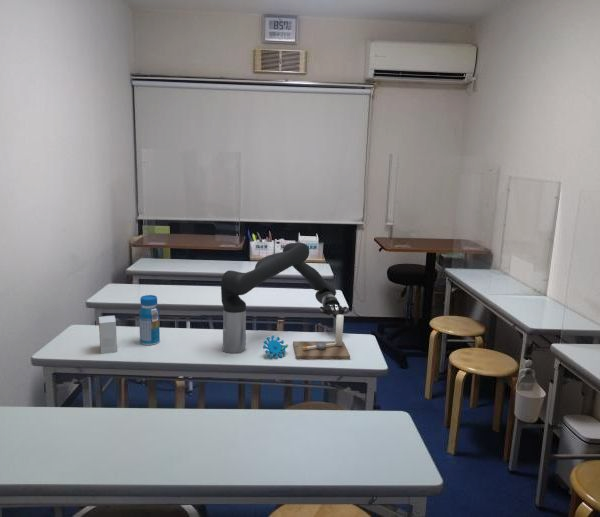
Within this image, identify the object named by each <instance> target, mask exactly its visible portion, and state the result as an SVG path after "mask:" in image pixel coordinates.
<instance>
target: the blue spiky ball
mask: <svg viewBox="0 0 600 517" xmlns="http://www.w3.org/2000/svg"><path fill="white" fill-rule="evenodd" d="M275 337H276V336H275V335H271V336H266V338H265V340H264V341H263V346H262V348H263V349H264V353H265V355H268V354H269V352H270V354H269V355H268V357H269V358H274V359H275V358H277V359H278V358H283V357H284V355H285V353H286V352H287V351H286V349H287V348H288V347H289V344H285V345H284V343H285V340H282V339H281V337H280V336H277V337H276V339H275ZM279 340H281V341H279ZM265 349H266V350H265ZM274 355H275V356H274ZM273 356H274V357H273Z"/></svg>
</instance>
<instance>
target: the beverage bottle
mask: <svg viewBox="0 0 600 517" xmlns="http://www.w3.org/2000/svg"><path fill="white" fill-rule="evenodd" d="M139 302H140V306H141V307H140V309H139V311H138V314H139V317H138V323H139V343H140V344H142V345H144V346H153V345H156V344H158V343H160V341H161V338H160V337H161V336H160V331H161V330H160V320H161V319H160V318H161V317H160V315H159V314H160V310H159V308H158V306H157V305H158V296H156V295H154V294H145V295H142V296H141V297H140V301H139Z"/></svg>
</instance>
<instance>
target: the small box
mask: <svg viewBox="0 0 600 517" xmlns="http://www.w3.org/2000/svg"><path fill="white" fill-rule="evenodd" d="M116 320H117V319H116V316H115V315H104V316H103V315H102V316H98V329H99V331H98V332H99V347H100V354H111V353H117V352H118V340H117V339H118V338H117V337H118V336H117V321H116Z"/></svg>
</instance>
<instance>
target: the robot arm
mask: <svg viewBox="0 0 600 517" xmlns="http://www.w3.org/2000/svg"><path fill="white" fill-rule="evenodd" d="M309 256H310V249H309V246H308V245H307V244H306V243H304V242H289V243H287V244H285V245H284V246H283V248H282V251H281V252H277V253H272V254H269V255H267V256H265V257H263V258H261V259H259V260H258V261H257V262H256V263H255V266H254V269H252V270H250V271H247V272H240V271H238V270H237V271H235V270H232V269H231V270H226V271H225V272H224V273H223V274H222V276H221V277H222V278H221V281H220V291H221V293H220V296H221V297H220V298H221V303H222V307H223V322H222V323H223V327H222V352H223V353H225V352H226V353H230V354H238V353H243V352H244V351H245V350H246V337H247V336H246V335H247V334H246V332H247V331H246V330H247V328H246V327H247V323H246V322H247V303H246V302H245V301H244V300H243V299H242V298H241V297H240V296H244V295H246V294H247V293H249V292H251V291H252V290H253V289H254V288H256V287H258V286H259V285H260V284H262V283H264V282H266V281H268V280H269V279H272V278H273V277H276V276H277V275H279V274H280V273H282V272H284V271H286V270H288V269H289V268H291V267H292V268H294V270H296V271H297V272H298V273H299V274H300V275H301V276H302V277H303V278H304V279H305V280H306V281H307V283H308V284H309V285H310V287H311V288H312V289H313V290H314V291H316V293H315V299H316V300H317V302H319V303H320V304H321V305H322V306H320V307H319V308H320V309H319V312H320V314H321V313H322V314H324V315H326V316H330V315H331V316H332V317H333V318H334V319H336V316H337V315H338V314H341V315H344V314H346V313H348V312H347V310H348V307H347V306H342V305H341V304H340V302H339V300H338V298H337V297H336V295H337V290H336V288H335V287H334V286H333V285H332V284H331V283H329V282H328V281H326V280H325V279H324V278H323V276H322V274H321V273H320V272H319V271H317V270H316V269H315V268H314V267H313V266H311V265H309V264H308V263H306V260H307V259H308V258H309Z"/></svg>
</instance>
